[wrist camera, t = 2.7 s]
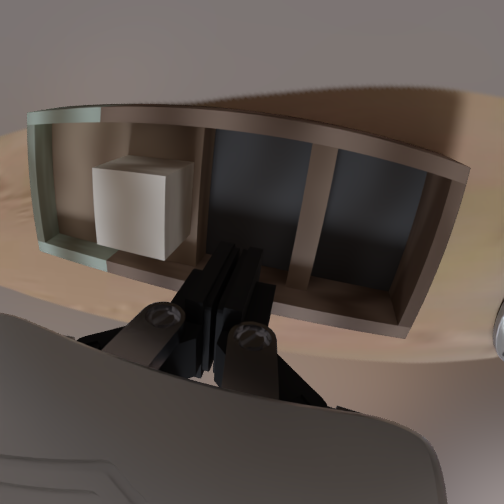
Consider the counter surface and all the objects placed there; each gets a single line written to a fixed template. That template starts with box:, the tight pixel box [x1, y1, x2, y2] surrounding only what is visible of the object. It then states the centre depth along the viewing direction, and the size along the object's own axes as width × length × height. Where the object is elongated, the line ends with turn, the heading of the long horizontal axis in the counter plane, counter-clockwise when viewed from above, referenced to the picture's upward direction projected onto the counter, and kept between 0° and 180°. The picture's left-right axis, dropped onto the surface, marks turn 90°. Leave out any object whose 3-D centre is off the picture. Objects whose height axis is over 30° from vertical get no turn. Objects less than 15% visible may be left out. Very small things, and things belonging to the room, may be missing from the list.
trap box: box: [27, 104, 470, 339], centre depth 20 cm, size 30×12×4 cm, turn 83°
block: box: [92, 155, 194, 261], centre depth 19 cm, size 5×5×4 cm
